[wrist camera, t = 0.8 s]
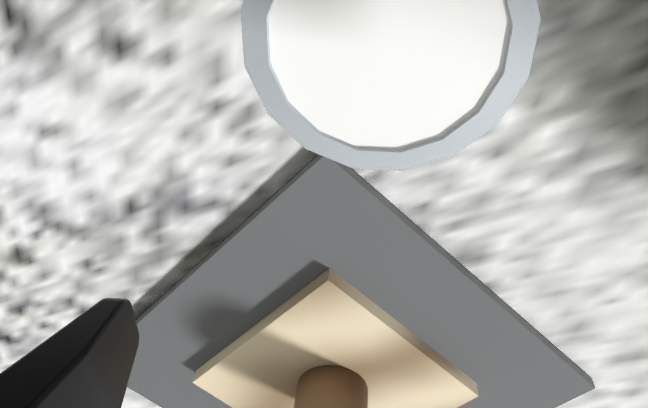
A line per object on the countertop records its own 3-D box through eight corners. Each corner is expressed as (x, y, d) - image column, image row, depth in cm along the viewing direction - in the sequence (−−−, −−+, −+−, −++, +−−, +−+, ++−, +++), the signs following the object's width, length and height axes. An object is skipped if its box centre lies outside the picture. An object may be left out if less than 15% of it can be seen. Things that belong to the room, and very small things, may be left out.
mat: (591, 378, 29) (595, 388, 28) (338, 503, 37) (338, 512, 36) (327, 146, 23) (325, 154, 22) (95, 356, 31) (90, 365, 31)
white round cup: (452, 93, 21) (478, 198, 15) (267, 51, 21) (223, 142, 15) (526, -116, 17) (598, -80, 12) (302, -172, 17) (261, -164, 11)
